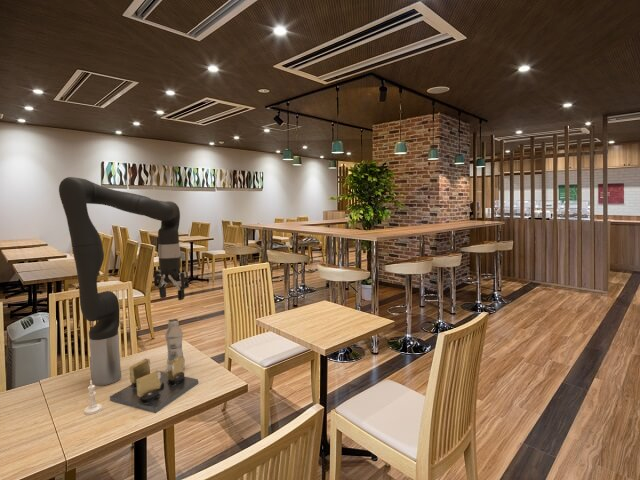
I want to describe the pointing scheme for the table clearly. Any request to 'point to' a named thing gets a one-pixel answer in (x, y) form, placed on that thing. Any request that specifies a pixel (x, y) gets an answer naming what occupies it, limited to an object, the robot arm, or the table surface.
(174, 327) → the plastic bottle
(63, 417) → the table surface
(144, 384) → the knob
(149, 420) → the table surface
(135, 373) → the knob
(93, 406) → the chess piece
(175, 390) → the plate
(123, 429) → the table surface
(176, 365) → the knob
